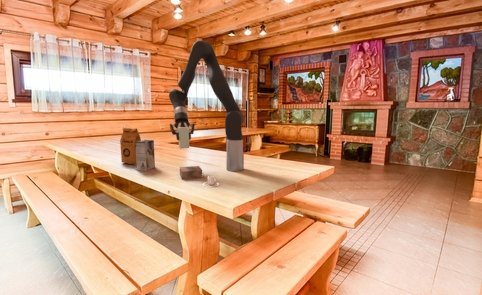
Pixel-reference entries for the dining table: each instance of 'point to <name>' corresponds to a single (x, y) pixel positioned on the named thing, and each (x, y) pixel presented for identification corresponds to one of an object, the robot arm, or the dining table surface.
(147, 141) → the coffee box
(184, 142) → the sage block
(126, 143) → the coffee package
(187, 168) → the walnut plinth
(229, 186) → the dining table surface
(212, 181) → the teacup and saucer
